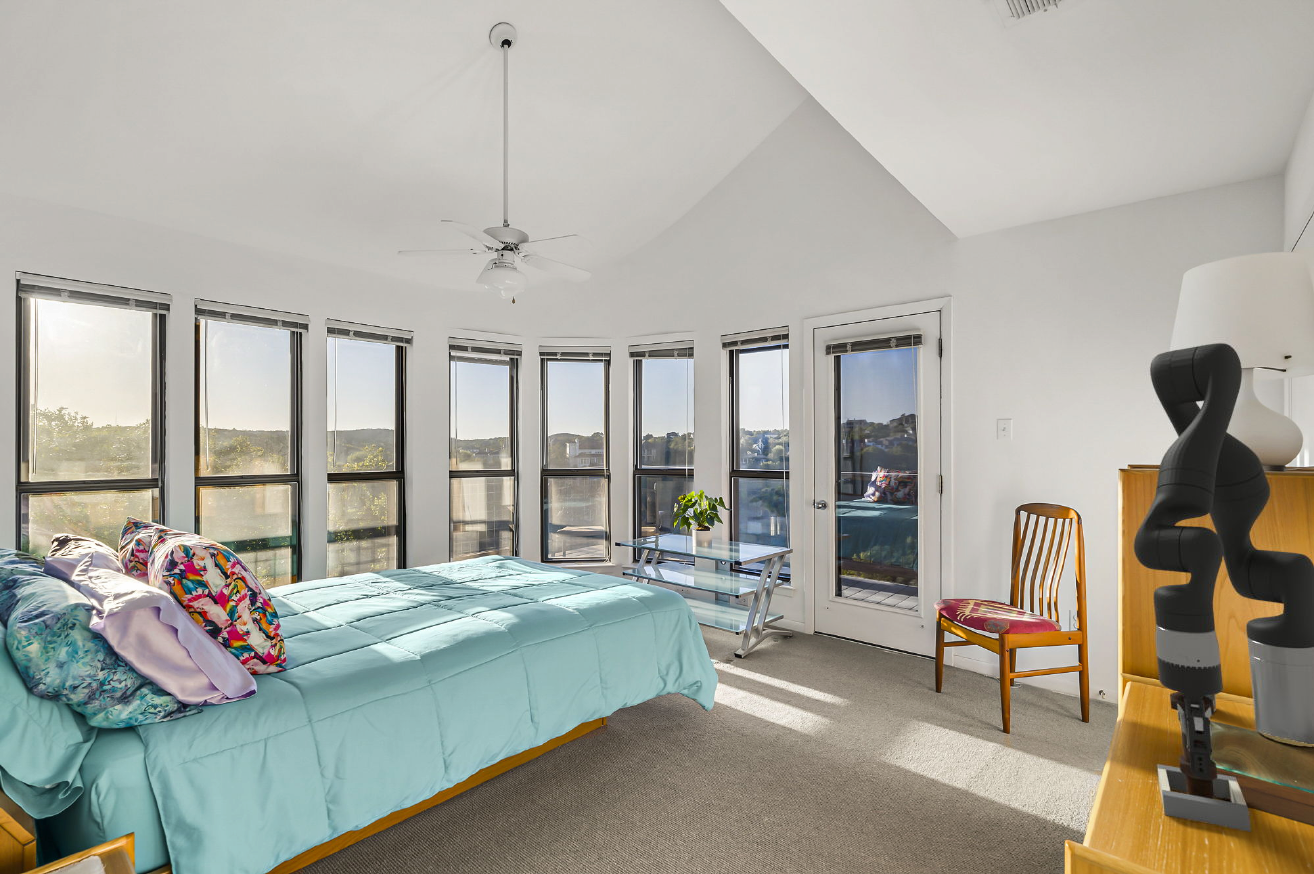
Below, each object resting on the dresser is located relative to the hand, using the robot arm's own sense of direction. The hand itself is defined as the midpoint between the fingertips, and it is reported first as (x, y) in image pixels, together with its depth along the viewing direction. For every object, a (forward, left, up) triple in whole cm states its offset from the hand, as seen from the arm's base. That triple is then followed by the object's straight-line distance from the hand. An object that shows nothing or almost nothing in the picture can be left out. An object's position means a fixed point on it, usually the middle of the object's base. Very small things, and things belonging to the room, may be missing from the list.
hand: (1198, 767), depth 98 cm
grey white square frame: (0, 0, -6) cm, 6 cm away
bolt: (0, 0, -5) cm, 5 cm away
